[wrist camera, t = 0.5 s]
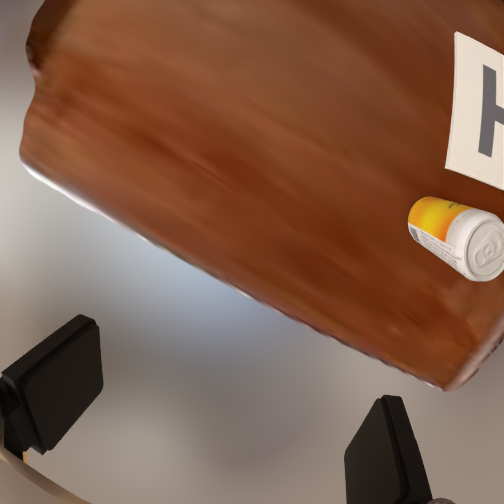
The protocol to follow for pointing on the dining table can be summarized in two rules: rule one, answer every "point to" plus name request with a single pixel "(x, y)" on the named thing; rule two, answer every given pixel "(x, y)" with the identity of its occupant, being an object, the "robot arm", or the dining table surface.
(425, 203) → the beer can
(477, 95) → the letter board
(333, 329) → the dining table surface
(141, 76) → the dining table surface
